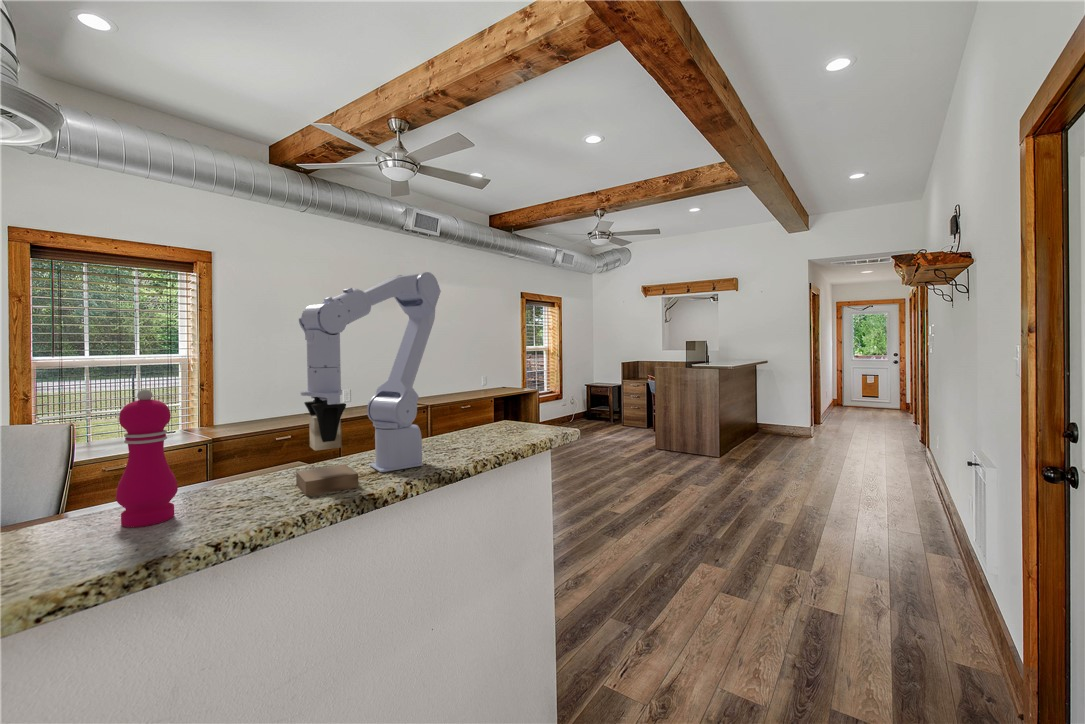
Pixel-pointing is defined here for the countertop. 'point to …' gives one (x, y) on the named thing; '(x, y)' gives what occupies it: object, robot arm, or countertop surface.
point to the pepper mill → (146, 464)
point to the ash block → (316, 438)
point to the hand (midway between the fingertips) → (325, 439)
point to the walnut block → (326, 479)
